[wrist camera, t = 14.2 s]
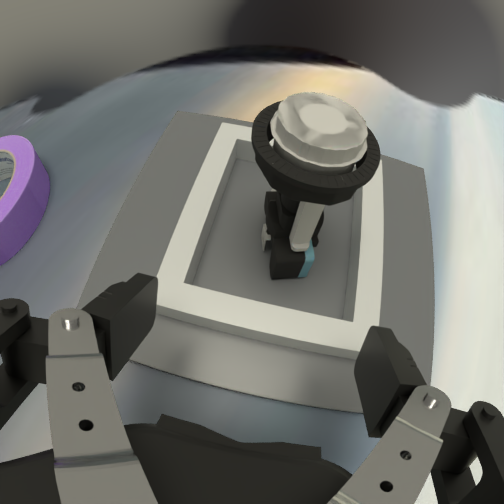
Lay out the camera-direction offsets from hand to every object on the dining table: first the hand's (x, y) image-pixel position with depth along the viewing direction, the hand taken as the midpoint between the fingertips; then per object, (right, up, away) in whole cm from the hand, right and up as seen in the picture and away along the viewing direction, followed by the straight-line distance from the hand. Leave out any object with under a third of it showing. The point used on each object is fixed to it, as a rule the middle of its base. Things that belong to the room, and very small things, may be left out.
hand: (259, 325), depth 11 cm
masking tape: (-22, +6, +10) cm, 25 cm away
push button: (+2, +4, +9) cm, 10 cm away
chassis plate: (+2, +3, +10) cm, 11 cm away
